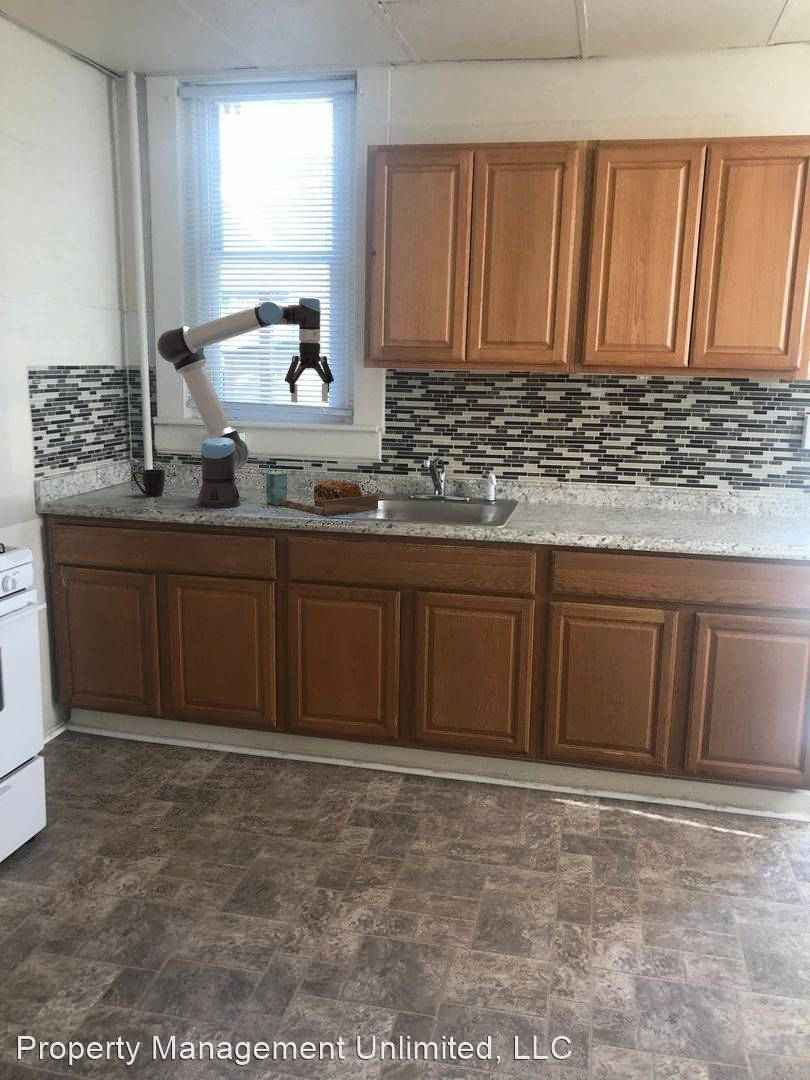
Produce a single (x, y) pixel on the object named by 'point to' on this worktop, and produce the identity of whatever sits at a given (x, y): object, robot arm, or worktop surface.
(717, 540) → the worktop surface
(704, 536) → the worktop surface
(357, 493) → the bread
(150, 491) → the mug
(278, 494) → the sled
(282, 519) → the worktop surface
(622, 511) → the worktop surface
